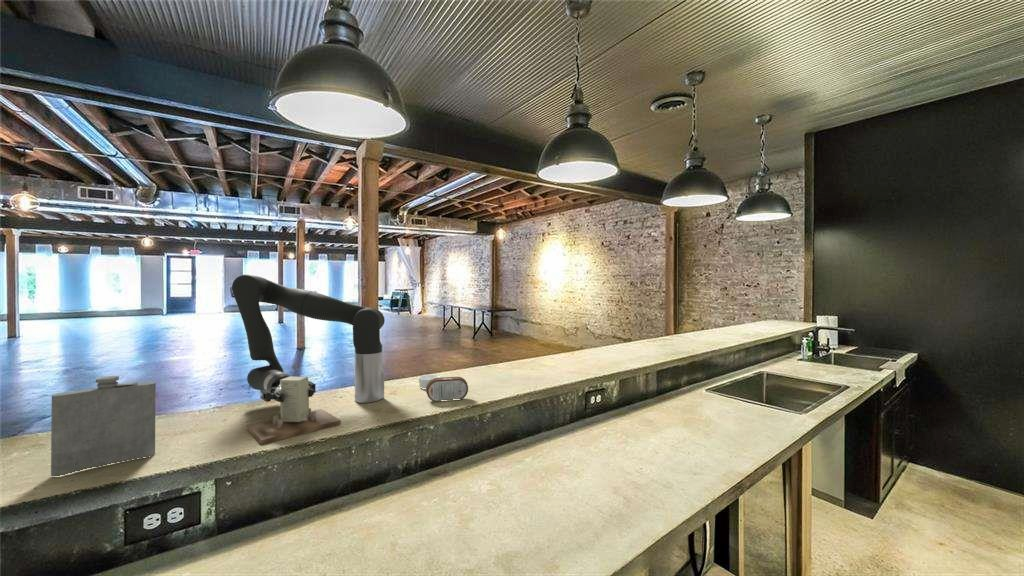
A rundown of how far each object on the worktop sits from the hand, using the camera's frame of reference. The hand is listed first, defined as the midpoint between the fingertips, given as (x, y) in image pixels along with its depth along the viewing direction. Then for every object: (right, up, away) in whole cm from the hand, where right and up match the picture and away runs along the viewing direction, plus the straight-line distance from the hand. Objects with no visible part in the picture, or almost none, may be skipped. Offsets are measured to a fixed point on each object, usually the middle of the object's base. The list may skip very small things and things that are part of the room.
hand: (297, 396), depth 105 cm
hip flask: (-31, -9, -22) cm, 39 cm away
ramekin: (+28, -10, +45) cm, 54 cm away
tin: (+39, -10, +27) cm, 48 cm away
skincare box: (-2, -7, +2) cm, 8 cm away
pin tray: (-2, -9, +1) cm, 10 cm away
